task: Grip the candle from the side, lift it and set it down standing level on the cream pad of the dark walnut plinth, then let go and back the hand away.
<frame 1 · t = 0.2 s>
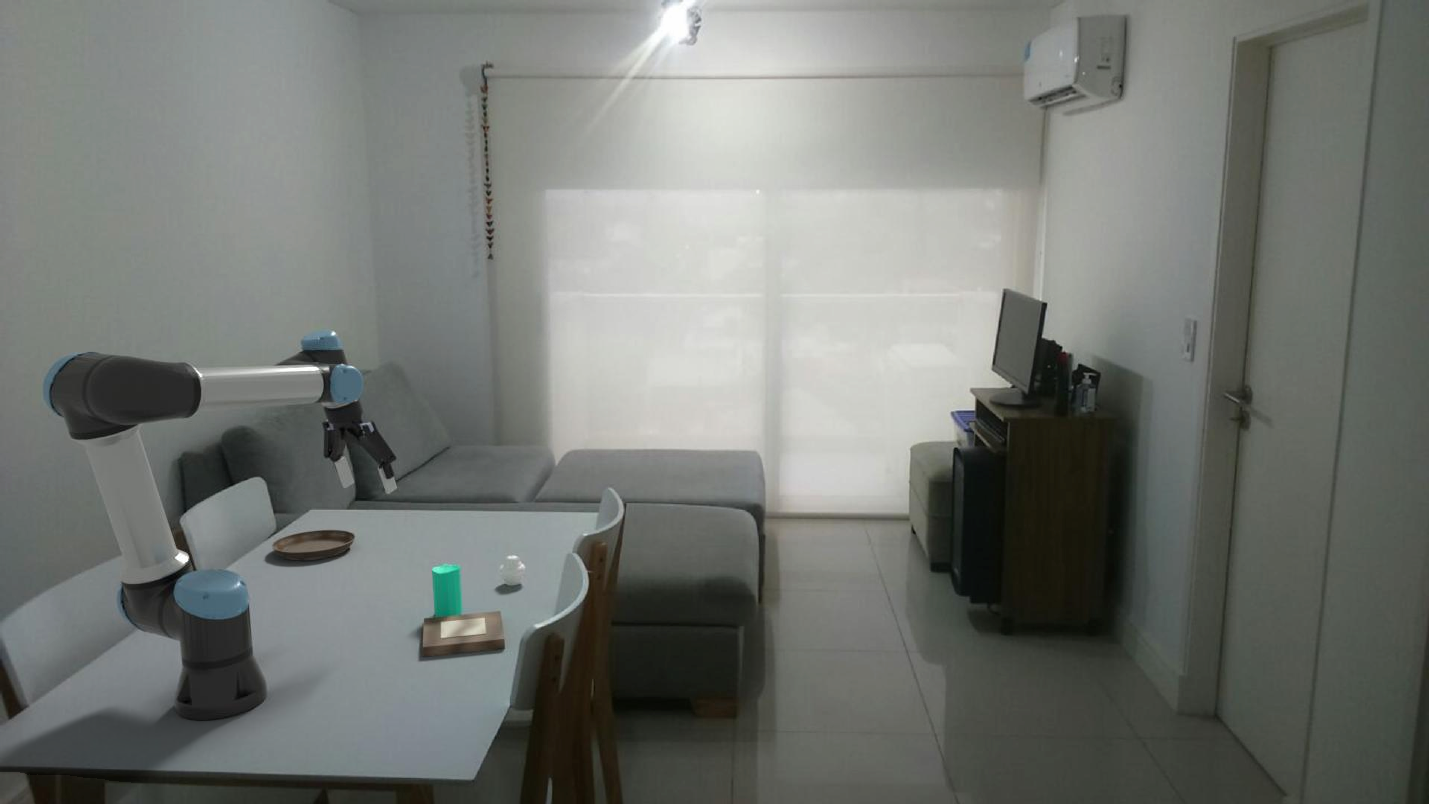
hand: (370, 488, 235), 27 cm above the table, tool tilted 15°, fingers open, 13 cm apart
white rounded piece: (513, 584, 253), on the table
plant saucer: (315, 552, 280), on the table
candle: (448, 614, 234), on the table
plinth: (463, 637, 221), on the table
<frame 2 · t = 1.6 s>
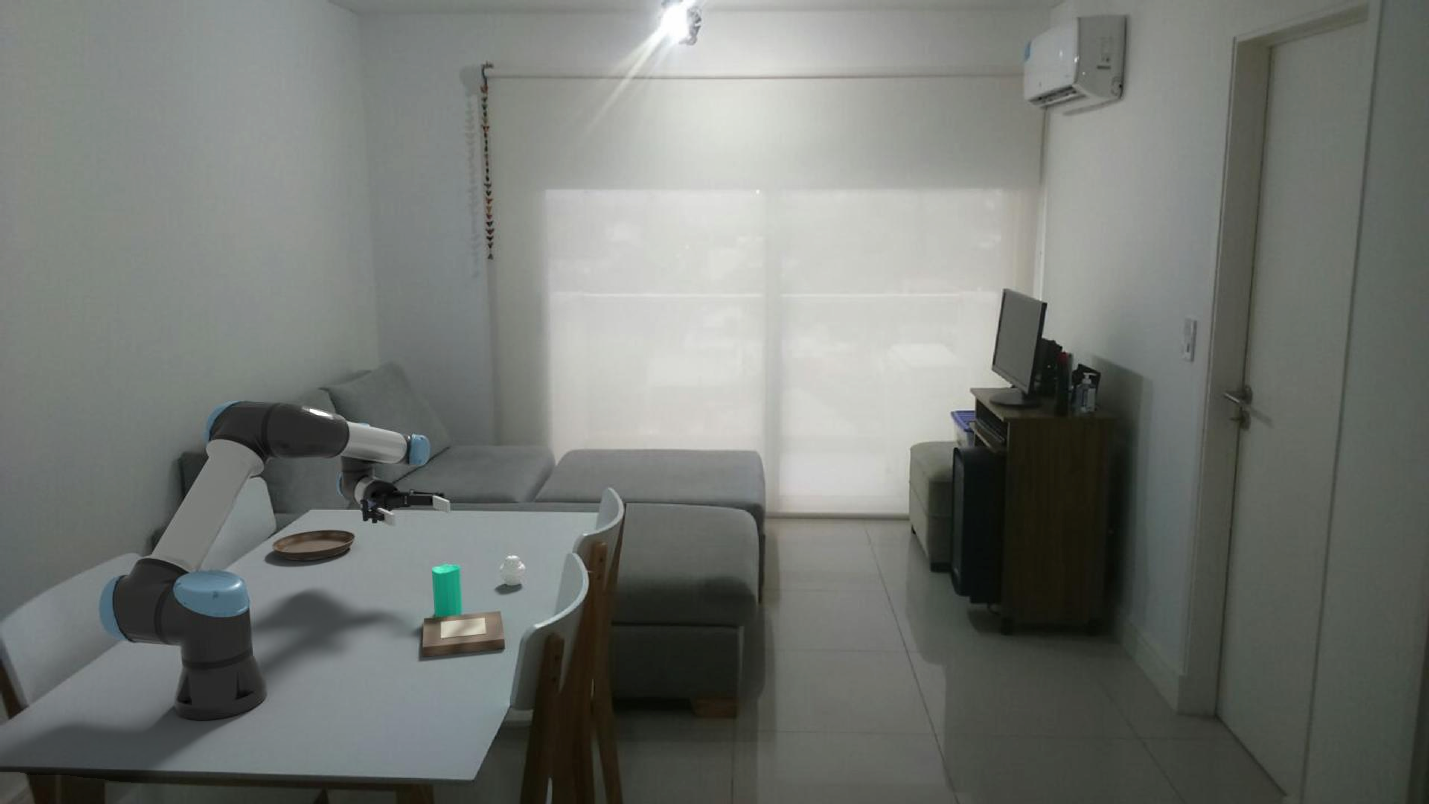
hand: (421, 513, 237), 21 cm above the table, tool horizontal, fingers open, 13 cm apart
nothing on the table moved.
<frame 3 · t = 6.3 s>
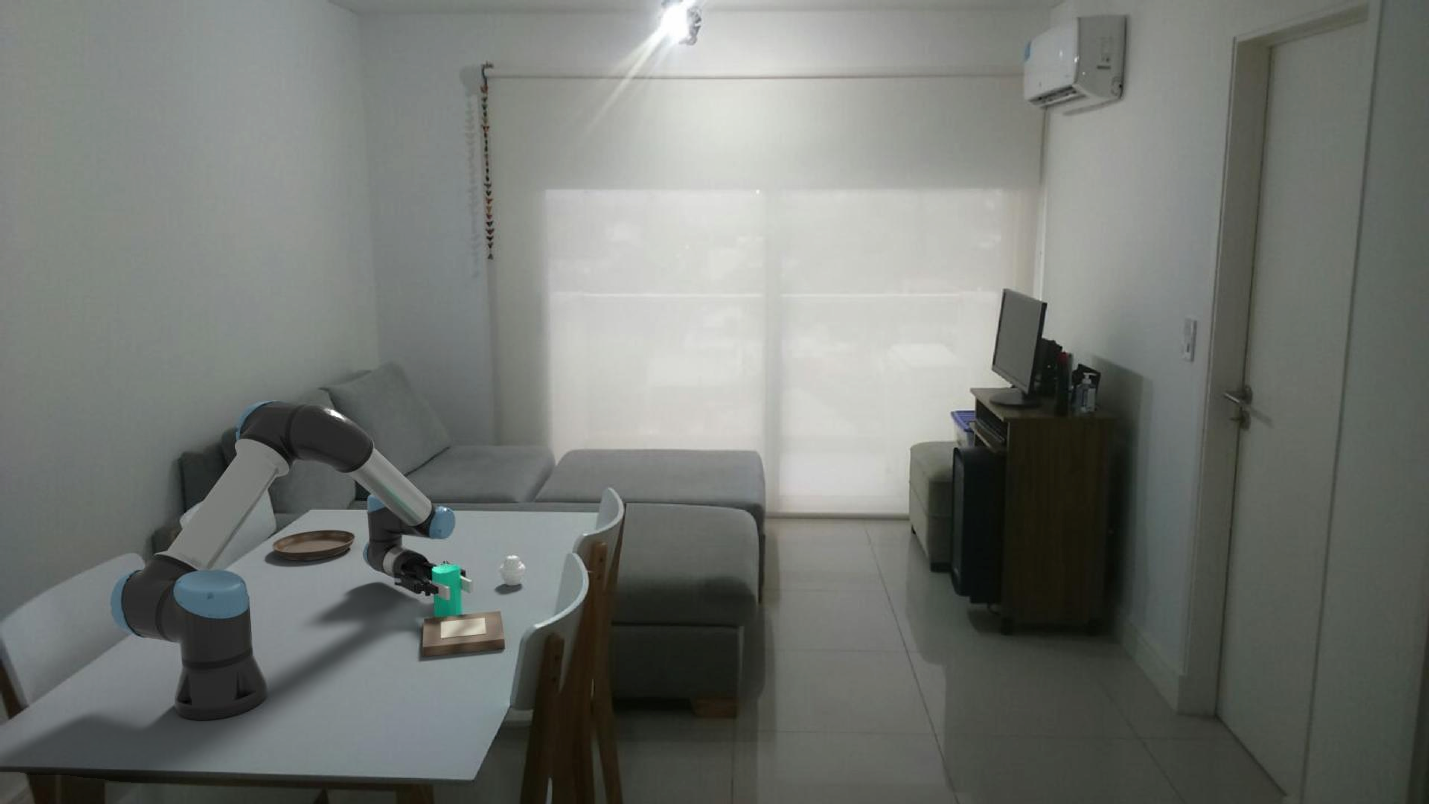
hand: (459, 590, 230), 7 cm above the table, tool horizontal, fingers closed on candle, 5 cm apart
candle: (448, 614, 234), on the table, touching gripper
everything else where it was.
when the fingers open (10 cm above the table, at t = 10.7 s): candle drops 1 cm, resting on plinth.
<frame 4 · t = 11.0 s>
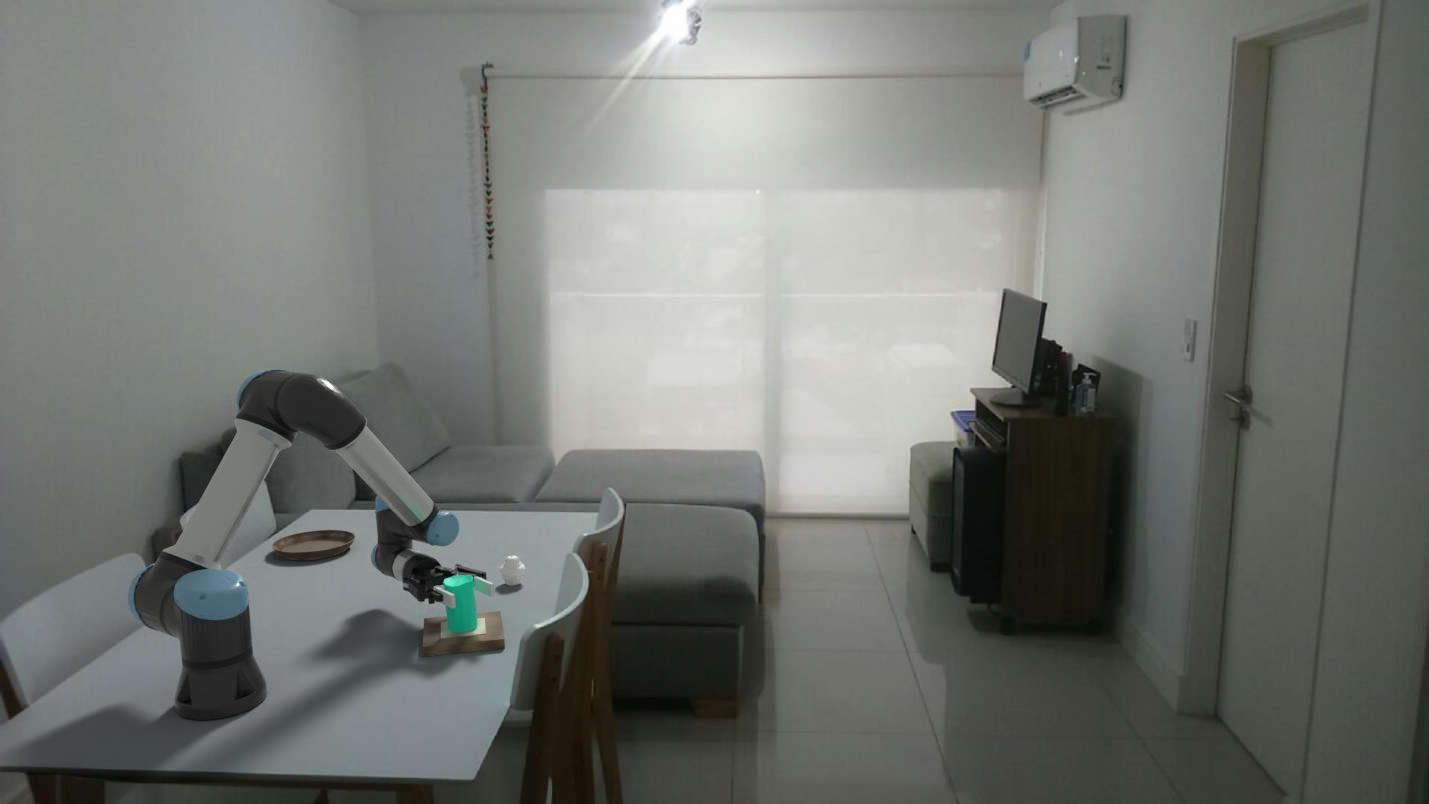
hand: (473, 595, 216), 10 cm above the table, tool horizontal, fingers open, 8 cm apart
candle: (463, 627, 220), point 2 cm above the table, touching plinth
everything else where it was.
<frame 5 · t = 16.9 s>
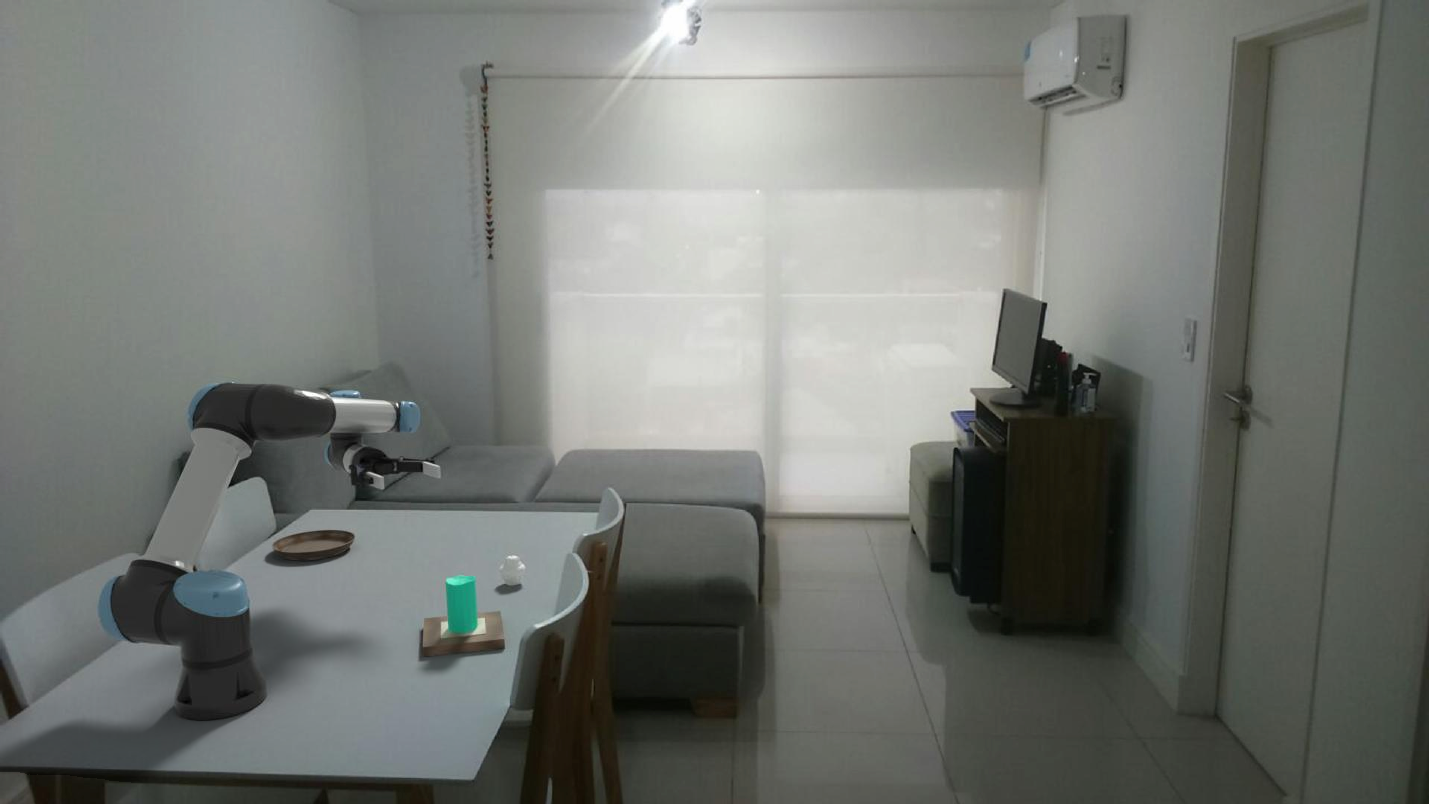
hand: (411, 477, 233), 30 cm above the table, tool horizontal, fingers open, 13 cm apart
nothing on the table moved.
at the end: candle 0.1 cm off-centre on the plinth, point 2.0 cm above the plinth's base; candle tilted 0°; the gripper is holding nothing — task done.
